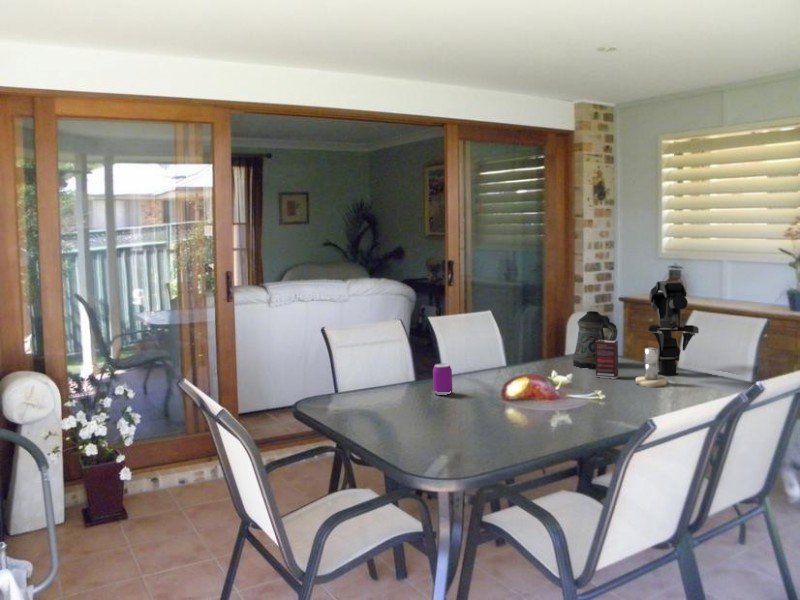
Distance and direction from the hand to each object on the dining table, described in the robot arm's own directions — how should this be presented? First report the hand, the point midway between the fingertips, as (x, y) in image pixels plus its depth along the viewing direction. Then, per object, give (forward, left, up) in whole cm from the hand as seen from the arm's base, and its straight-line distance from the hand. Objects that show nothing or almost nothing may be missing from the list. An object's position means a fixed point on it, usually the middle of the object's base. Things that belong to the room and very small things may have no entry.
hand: (672, 350), depth 297 cm
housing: (-4, -8, -11) cm, 14 cm away
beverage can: (-41, -85, -14) cm, 95 cm away
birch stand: (-4, -8, -13) cm, 16 cm away
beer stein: (-44, -2, -14) cm, 46 cm away
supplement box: (-23, -14, -14) cm, 30 cm away
